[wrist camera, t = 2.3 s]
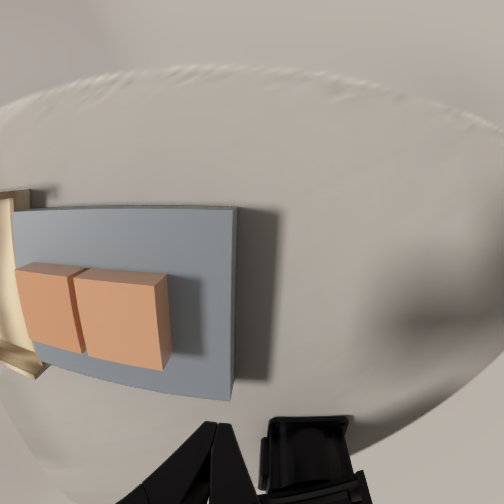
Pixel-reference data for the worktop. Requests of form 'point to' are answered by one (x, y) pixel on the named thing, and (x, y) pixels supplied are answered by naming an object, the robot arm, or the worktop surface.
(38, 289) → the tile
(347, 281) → the worktop surface
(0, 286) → the tray
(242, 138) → the worktop surface
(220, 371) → the slate board
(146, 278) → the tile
